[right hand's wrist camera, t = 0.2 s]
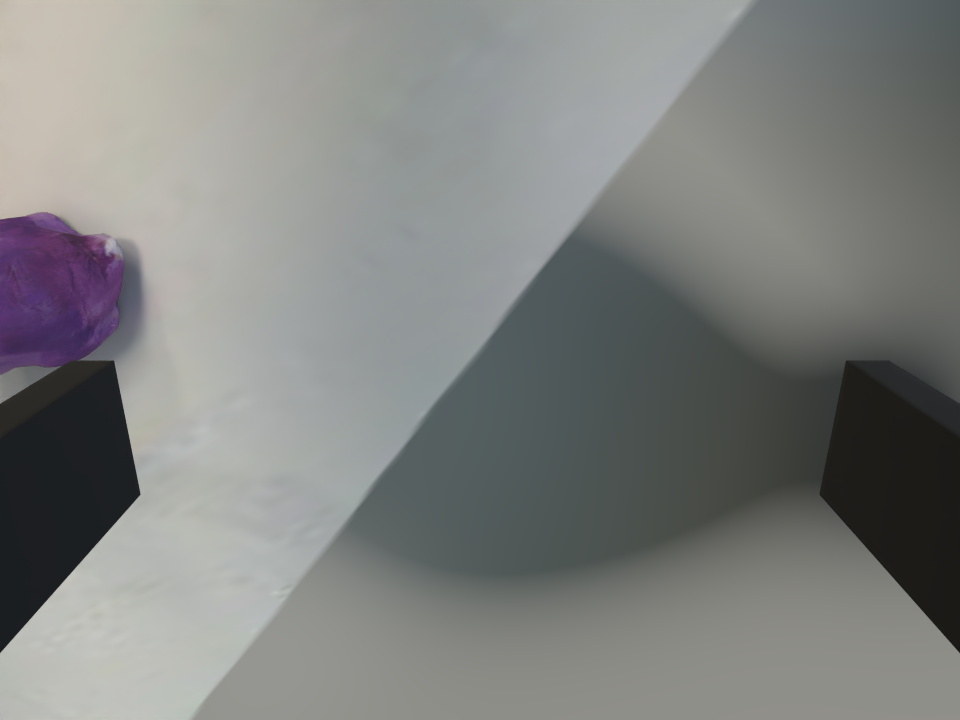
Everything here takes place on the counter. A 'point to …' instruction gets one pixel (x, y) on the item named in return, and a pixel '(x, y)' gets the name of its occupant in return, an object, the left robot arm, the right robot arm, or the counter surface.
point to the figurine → (55, 291)
